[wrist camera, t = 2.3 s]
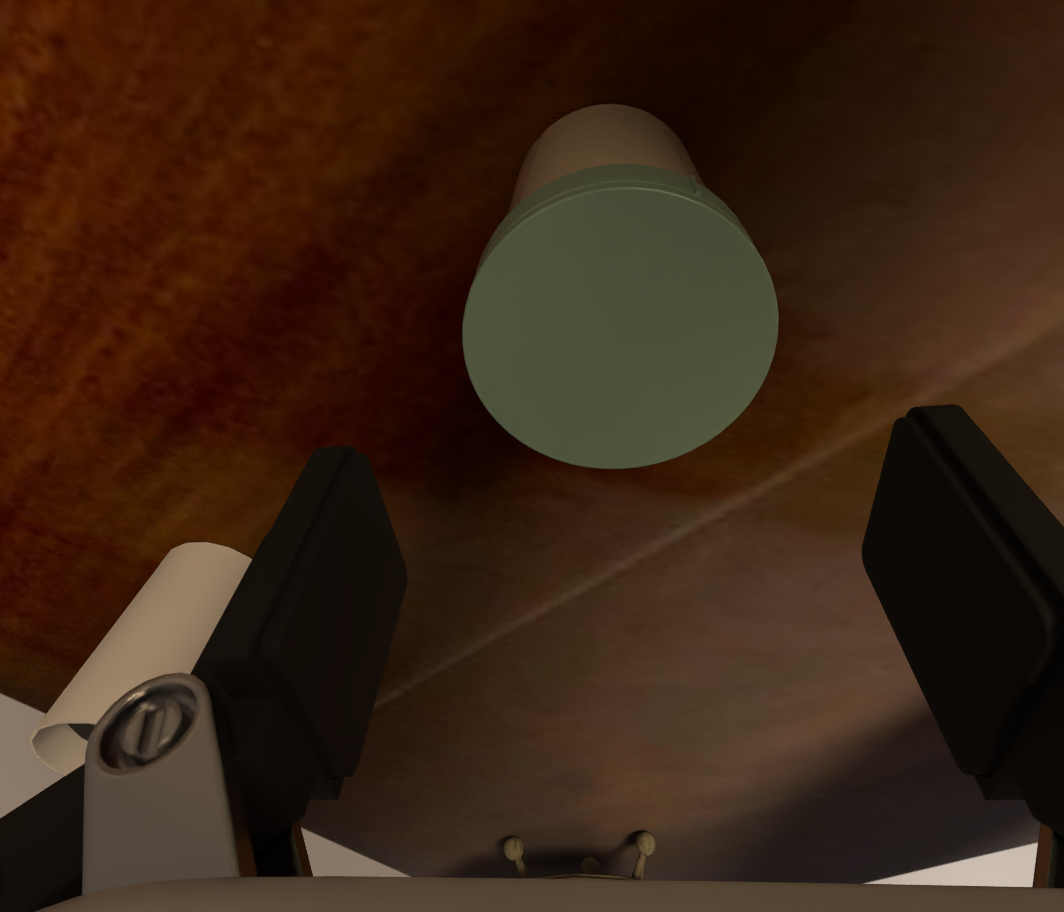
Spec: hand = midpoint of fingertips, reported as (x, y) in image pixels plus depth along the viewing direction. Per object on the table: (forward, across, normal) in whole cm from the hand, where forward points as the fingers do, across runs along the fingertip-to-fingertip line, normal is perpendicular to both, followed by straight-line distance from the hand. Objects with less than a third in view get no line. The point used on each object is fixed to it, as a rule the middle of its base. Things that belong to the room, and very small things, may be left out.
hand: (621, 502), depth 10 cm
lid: (+5, 0, 0) cm, 5 cm away
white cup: (+15, +22, +17) cm, 31 cm away
